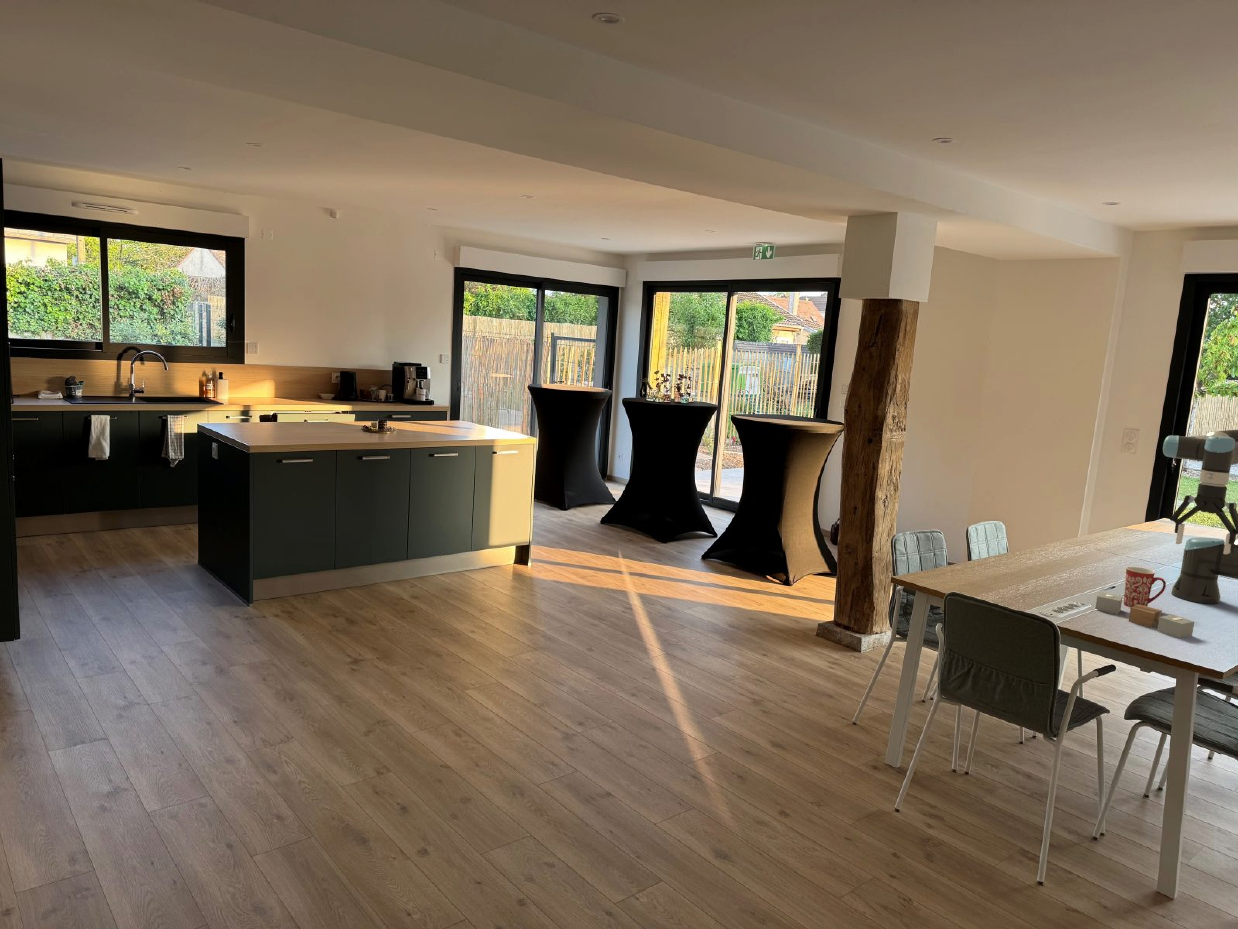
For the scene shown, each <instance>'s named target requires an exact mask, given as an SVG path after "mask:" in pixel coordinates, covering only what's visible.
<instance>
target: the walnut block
mask: <svg viewBox="0 0 1238 929" xmlns="http://www.w3.org/2000/svg"><path fill="white" fill-rule="evenodd" d="M1129 610H1130V611H1129V615H1128V616H1129V617H1128V622H1131V623H1134V624H1137V625H1141V626H1145V627H1147V626H1148V627H1147V628H1154V627H1158V623H1159V617H1162V612H1163V610H1162V609H1159V608H1154V607H1151V606H1143V605H1140V604H1139V605H1136V606H1133V607H1130V608H1129Z"/></svg>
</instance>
